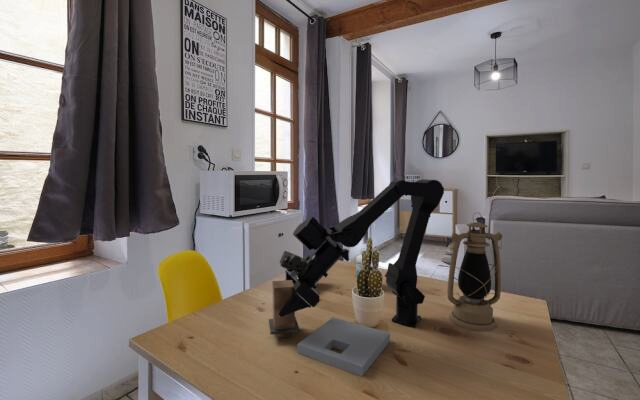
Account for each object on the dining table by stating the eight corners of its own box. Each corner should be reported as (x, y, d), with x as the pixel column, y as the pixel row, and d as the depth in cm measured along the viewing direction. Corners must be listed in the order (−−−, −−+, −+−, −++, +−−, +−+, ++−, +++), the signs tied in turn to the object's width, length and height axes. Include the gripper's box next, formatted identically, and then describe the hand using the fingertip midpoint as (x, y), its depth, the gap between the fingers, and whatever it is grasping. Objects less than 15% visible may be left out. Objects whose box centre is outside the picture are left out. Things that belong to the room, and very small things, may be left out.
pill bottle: (376, 283, 118) (377, 247, 117) (378, 290, 110) (378, 252, 109) (355, 282, 119) (356, 246, 117) (356, 290, 111) (356, 251, 110)
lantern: (487, 310, 94) (492, 209, 92) (511, 330, 83) (518, 215, 80) (438, 311, 94) (441, 209, 91) (456, 331, 82) (460, 215, 80)
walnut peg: (295, 325, 85) (295, 278, 84) (299, 339, 79) (299, 287, 77) (268, 328, 84) (268, 280, 83) (270, 342, 77) (270, 290, 76)
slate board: (332, 324, 86) (332, 317, 86) (389, 341, 78) (390, 333, 78) (297, 352, 73) (297, 344, 73) (362, 376, 64) (362, 367, 64)
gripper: (293, 233, 89) (253, 275, 88) (305, 249, 71) (255, 302, 70) (321, 259, 92) (282, 300, 90) (339, 281, 73) (291, 333, 72)
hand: (278, 307), depth 80 cm, fingers open, 9 cm apart
